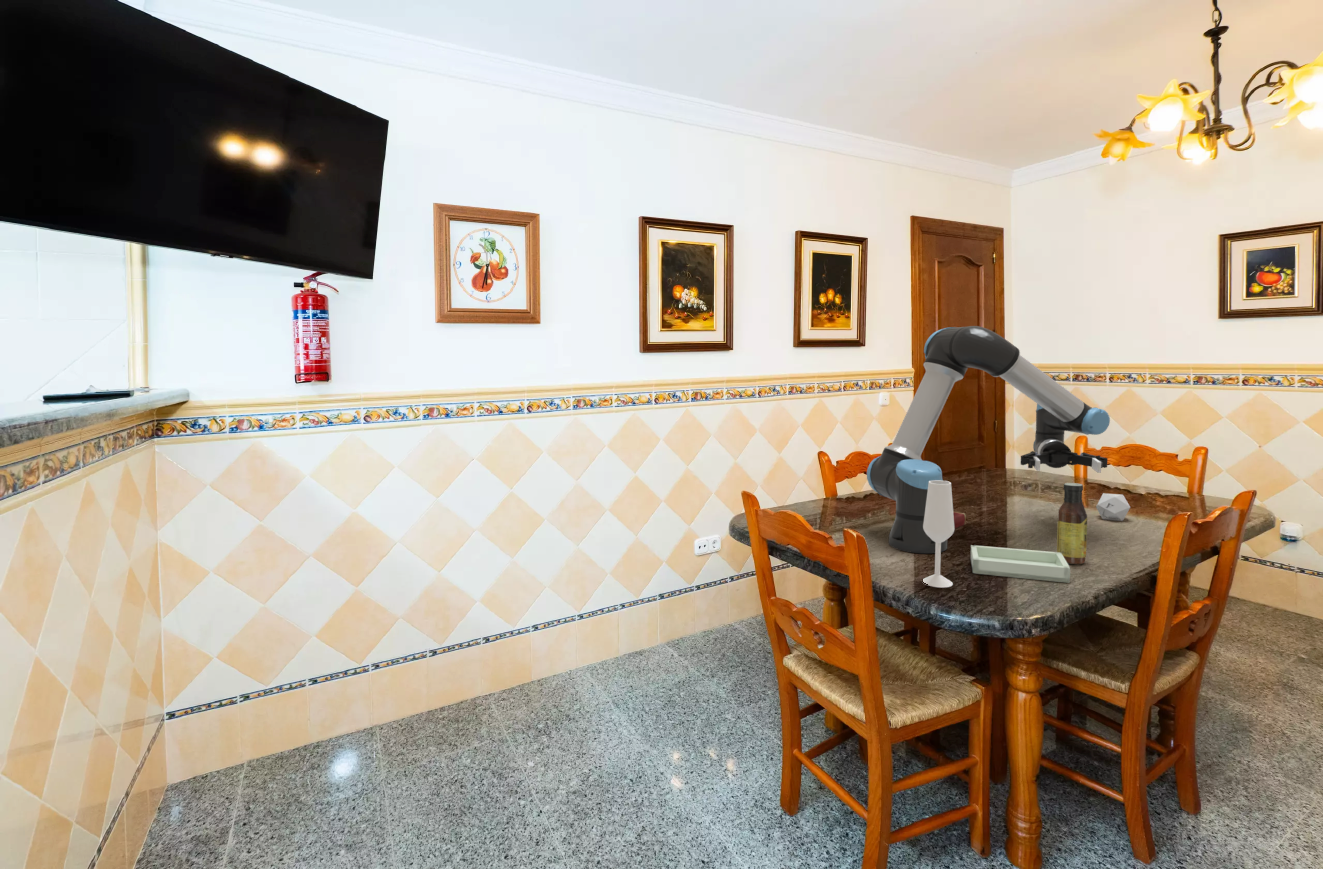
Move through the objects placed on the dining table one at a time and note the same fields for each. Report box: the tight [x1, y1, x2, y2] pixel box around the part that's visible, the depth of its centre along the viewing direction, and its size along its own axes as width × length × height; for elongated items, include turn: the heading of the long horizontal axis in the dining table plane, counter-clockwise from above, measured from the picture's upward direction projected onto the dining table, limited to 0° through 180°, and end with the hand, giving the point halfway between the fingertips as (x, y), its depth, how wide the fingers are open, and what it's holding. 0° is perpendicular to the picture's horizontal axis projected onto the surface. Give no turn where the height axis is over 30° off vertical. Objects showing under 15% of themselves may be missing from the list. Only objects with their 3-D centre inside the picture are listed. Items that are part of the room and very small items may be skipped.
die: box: [1095, 492, 1131, 522], centre depth 193 cm, size 8×9×10 cm
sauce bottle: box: [1056, 482, 1088, 565], centre depth 156 cm, size 7×6×20 cm
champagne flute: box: [922, 480, 956, 588], centre depth 145 cm, size 7×7×24 cm
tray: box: [970, 544, 1071, 584], centre depth 153 cm, size 20×12×4 cm, turn 66°
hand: (1068, 466), depth 164 cm, fingers open, 13 cm apart
